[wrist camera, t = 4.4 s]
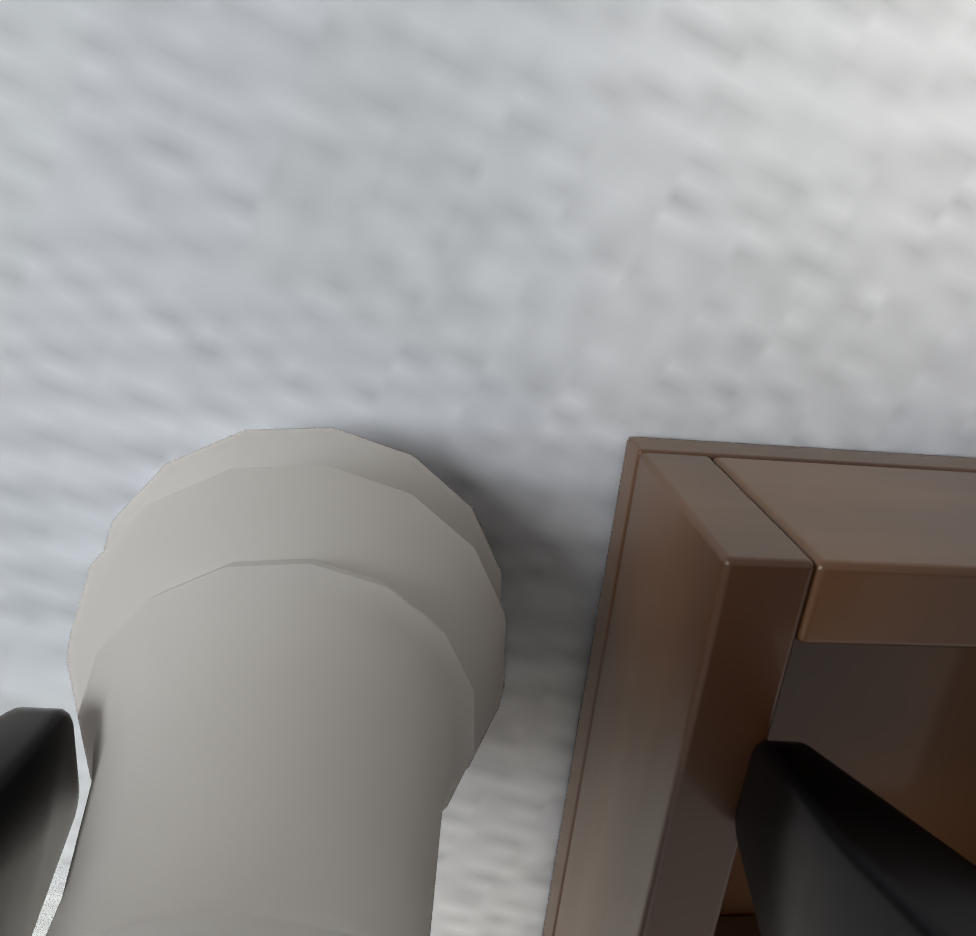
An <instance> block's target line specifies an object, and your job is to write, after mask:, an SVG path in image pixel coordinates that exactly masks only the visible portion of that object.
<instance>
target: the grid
mask: <svg viewBox="0 0 976 936" xmlns="http://www.w3.org/2000/svg"><path fill="white" fill-rule="evenodd" d="M764 740H774V741H796V742H802V743H805V744H807V745H808V746H810V747H811V748H813V749H814V750H816V751H817V752H818V753H820V754H821V755H823V756H824V757H825V758H827V759H828V760H830V761H831V762H832V763H834V764H835V765H837V766H838V767H839V768H841V769H842V770H844V771H845V772H846V773H848V774H849V775H851V776H852V777H853V778H855V779H856V780H857V781H859V782H860V783H862V784H863V785H864V786H866V787H867V788H869V789H870V790H871V791H873V792H874V793H876V794H877V795H878V796H880V797H881V798H883V799H884V800H885V801H887V802H888V803H890V804H891V805H892V806H894V807H895V808H897V809H898V810H899V811H901V812H902V813H903V814H905V815H906V816H908V817H909V818H910V819H912V820H913V821H915V822H916V823H917V824H919V825H920V826H922V827H923V828H924V829H926V830H927V831H929V832H930V833H931V834H933V835H934V836H936V837H937V838H938V839H940V840H941V841H942V842H944V843H945V844H947V845H948V846H949V847H951V848H952V849H954V850H955V851H956V852H958V853H959V854H961V855H962V856H963V857H965V858H966V859H968V860H969V861H970V862H972V863H973V864H975V865H976V458H966V457H950V456H934V455H918V454H902V453H886V452H870V451H854V450H838V449H822V448H806V447H790V446H774V445H758V444H741V443H725V442H709V441H693V440H677V439H661V438H645V437H630V438H629V439H628V441H627V445H626V451H625V457H624V463H623V469H622V474H621V480H620V486H619V492H618V498H617V503H616V509H615V515H614V521H613V527H612V533H611V538H610V544H609V550H608V556H607V562H606V568H605V573H604V579H603V585H602V591H601V597H600V603H599V608H598V614H597V620H596V626H595V632H594V637H593V643H592V649H591V655H590V661H589V667H588V672H587V678H586V684H585V690H584V696H583V702H582V707H581V713H580V719H579V725H578V731H577V737H576V742H575V748H574V754H573V760H572V766H571V771H570V777H569V783H568V789H567V795H566V801H565V806H564V812H563V818H562V824H561V830H560V836H559V841H558V847H557V853H556V859H555V865H554V871H553V876H552V882H551V888H550V894H549V900H548V905H547V911H546V917H545V923H544V929H543V935H542V936H761V935H760V931H759V927H758V923H757V919H756V915H755V911H754V907H753V903H752V899H751V895H750V891H749V887H748V883H747V879H746V875H745V871H744V867H743V863H742V859H741V855H740V851H739V847H738V843H737V838H736V830H735V816H736V810H737V805H738V802H739V798H740V794H741V790H742V787H743V783H744V779H745V775H746V772H747V768H748V764H749V760H750V757H751V754H752V751H753V749H754V747H755V746H756V745H757V744H758V743H759V742H761V741H764Z"/></svg>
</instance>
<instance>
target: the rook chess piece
mask: <svg viewBox="0 0 976 936" xmlns="http://www.w3.org/2000/svg"><path fill="white" fill-rule="evenodd" d="M505 619H506V615H505V613H504V611H503V609H502V606H501V570H500V568H499V566H498V564H497V562H496V559H495V557H494V555H493V553H492V551H491V548H490V546H489V544H488V542H487V540H486V537H485V535H484V533H483V531H482V529H481V526H480V524H479V522H478V520H477V518H476V516H475V513H474V511H473V509H472V507H471V506H469V505H468V504H467V503H466V502H465V501H464V500H463V499H462V498H460V497H459V496H458V495H457V494H456V493H455V492H454V491H452V490H451V489H450V488H449V487H448V486H447V485H446V484H445V483H443V482H442V481H441V480H440V479H439V478H438V477H437V476H435V475H434V474H433V473H432V472H431V471H430V470H429V469H428V468H426V467H425V466H424V465H423V464H422V463H421V462H420V461H418V460H417V459H416V458H415V457H414V456H412V455H409V454H407V453H404V452H401V451H398V450H395V449H392V448H390V447H387V446H384V445H381V444H378V443H375V442H373V441H370V440H367V439H364V438H361V437H358V436H356V435H353V434H350V433H347V432H344V431H341V430H338V429H336V428H296V429H258V430H244V431H241V432H239V433H236V434H234V435H232V436H229V437H227V438H225V439H222V440H220V441H218V442H215V443H213V444H211V445H208V446H206V447H204V448H201V449H199V450H197V451H194V452H192V453H189V454H187V455H185V456H182V457H180V458H178V459H175V460H173V461H171V462H168V463H166V464H165V465H164V466H163V468H162V469H161V470H160V471H159V472H158V473H157V474H156V475H155V476H154V477H153V478H152V479H151V480H150V481H149V482H148V484H147V485H146V486H145V487H144V488H143V489H142V490H141V491H140V492H139V493H138V494H137V495H136V496H135V497H134V498H133V500H132V501H131V502H130V503H129V504H128V505H127V506H126V507H125V508H124V509H123V510H122V511H121V512H120V513H119V514H118V516H117V517H116V518H115V519H114V520H113V521H112V524H111V527H110V531H109V534H108V537H107V541H106V544H105V547H104V551H103V552H102V553H101V554H100V555H99V556H98V557H97V558H96V560H95V561H94V562H93V563H92V564H91V566H90V569H89V573H88V576H87V580H86V583H85V586H84V590H83V593H82V596H81V600H80V603H79V607H78V610H77V613H76V617H75V620H74V624H73V627H72V630H71V634H70V637H69V646H68V656H67V666H68V670H69V675H70V680H71V685H72V690H73V694H74V699H75V704H76V709H77V714H78V720H79V725H80V730H81V735H82V740H83V744H84V749H85V754H86V759H87V764H88V768H89V773H90V778H91V780H92V782H91V787H90V791H89V795H88V799H87V803H86V807H85V810H84V814H83V818H82V822H81V826H80V830H79V834H78V838H77V842H76V846H75V849H74V853H73V857H72V861H71V865H70V869H69V873H68V877H67V881H66V884H65V888H64V892H63V896H62V899H61V901H60V904H59V906H58V908H57V911H56V913H55V915H54V918H53V920H52V922H51V925H50V927H49V929H48V932H47V934H46V936H430V931H431V920H432V910H433V900H434V889H435V879H436V869H437V858H438V848H439V837H440V827H441V817H442V811H443V810H444V809H445V808H446V807H447V806H448V804H449V802H450V800H451V798H452V796H453V794H454V792H455V790H456V788H457V786H458V784H459V782H460V780H461V778H462V776H463V774H464V772H465V770H466V769H467V768H468V767H469V765H470V763H471V761H472V759H473V757H474V755H475V753H476V751H477V749H478V747H479V745H480V743H481V741H482V739H483V737H484V735H485V733H486V731H487V729H488V727H489V725H490V723H491V721H492V719H493V717H494V715H495V713H496V711H497V709H498V707H499V704H500V700H501V695H502V691H503V687H504V668H505Z"/></svg>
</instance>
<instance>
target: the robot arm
mask: <svg viewBox="0 0 976 936" xmlns="http://www.w3.org/2000/svg"><path fill="white" fill-rule="evenodd" d="M78 798H79V780H78V769H77V758H76V748H75V737H74V726H73V722H72V719H71V717H70V714H69V713H67V712H66V711H65V710H63V709H54V708H32V707H20V708H15V709H12V710H10V711H8V712H6V713H4V714H3V715H1V716H0V936H32V933H33V931H34V928H35V925H36V922H37V920H38V917H39V914H40V911H41V909H42V906H43V903H44V900H45V898H46V895H47V892H48V889H49V886H50V884H51V881H52V878H53V875H54V873H55V870H56V867H57V864H58V862H59V859H60V856H61V853H62V850H63V848H64V845H65V842H66V839H67V837H68V834H69V831H70V828H71V826H72V823H73V820H74V817H75V813H76V809H77V805H78ZM735 830H736V838H737V843H738V847H739V851H740V855H741V859H742V863H743V867H744V871H745V875H746V879H747V883H748V887H749V891H750V895H751V899H752V903H753V907H754V911H755V915H756V919H757V923H758V927H759V931H760V935H761V936H976V865H975V864H973V863H972V862H970V861H969V860H968V859H966V858H965V857H963V856H962V855H961V854H959V853H958V852H956V851H955V850H954V849H952V848H951V847H949V846H948V845H947V844H945V843H944V842H942V841H941V840H940V839H938V838H937V837H936V836H934V835H933V834H931V833H930V832H929V831H927V830H926V829H924V828H923V827H922V826H920V825H919V824H917V823H916V822H915V821H913V820H912V819H910V818H909V817H908V816H906V815H905V814H903V813H902V812H901V811H899V810H898V809H897V808H895V807H894V806H892V805H891V804H890V803H888V802H887V801H885V800H884V799H883V798H881V797H880V796H878V795H877V794H876V793H874V792H873V791H871V790H870V789H869V788H867V787H866V786H864V785H863V784H862V783H860V782H859V781H857V780H856V779H855V778H853V777H852V776H851V775H849V774H848V773H846V772H845V771H844V770H842V769H841V768H839V767H838V766H837V765H835V764H834V763H832V762H831V761H830V760H828V759H827V758H825V757H824V756H823V755H821V754H820V753H818V752H817V751H816V750H814V749H813V748H811V747H810V746H808V745H807V744H805V743H802V742H796V741H774V740H764V741H761V742H759V743H758V744H757V745H756V746H755V747H754V749H753V751H752V754H751V757H750V760H749V764H748V768H747V772H746V775H745V779H744V783H743V787H742V790H741V794H740V798H739V802H738V805H737V810H736V816H735Z"/></svg>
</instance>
